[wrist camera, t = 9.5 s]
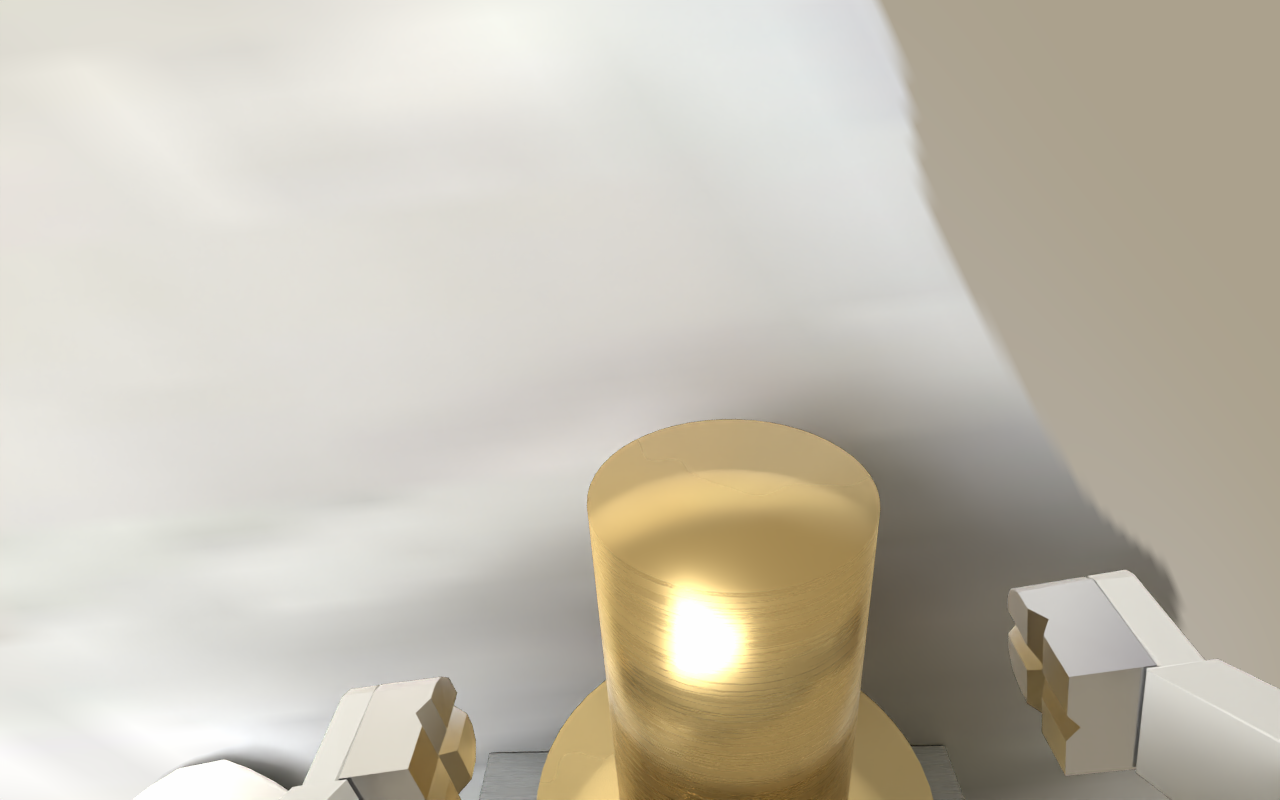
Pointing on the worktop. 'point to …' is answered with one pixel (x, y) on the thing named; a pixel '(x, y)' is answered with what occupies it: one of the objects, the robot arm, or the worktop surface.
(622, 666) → the brass collar peg
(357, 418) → the worktop surface
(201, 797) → the spatula
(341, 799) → the robot arm
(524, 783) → the housing
